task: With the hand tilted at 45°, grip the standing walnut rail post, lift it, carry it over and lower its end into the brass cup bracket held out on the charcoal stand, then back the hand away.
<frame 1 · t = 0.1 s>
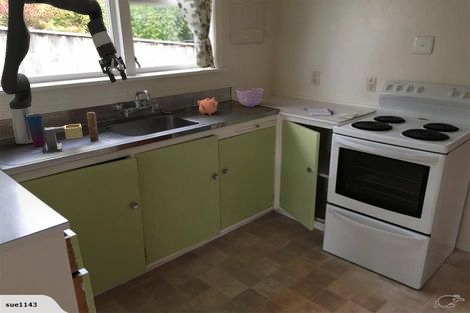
hand: (119, 81, 164), 31 cm above the counter, tool tilted 20°, fingers open, 8 cm apart
cup: (39, 146, 183), on the counter
cup bracket: (75, 146, 181), on the counter
orange lumpy ball: (208, 113, 249), on the counter
rail post: (94, 140, 191), on the counter
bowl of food: (249, 105, 273), on the counter
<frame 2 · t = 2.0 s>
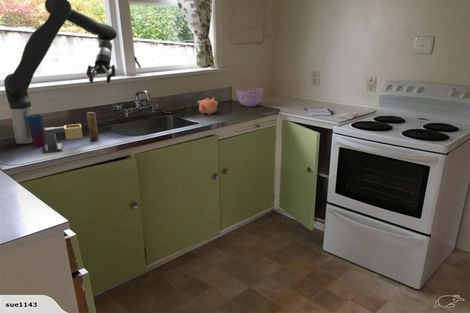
hand: (99, 82, 197), 27 cm above the counter, tool tilted 45°, fingers open, 8 cm apart
nothing on the counter moved.
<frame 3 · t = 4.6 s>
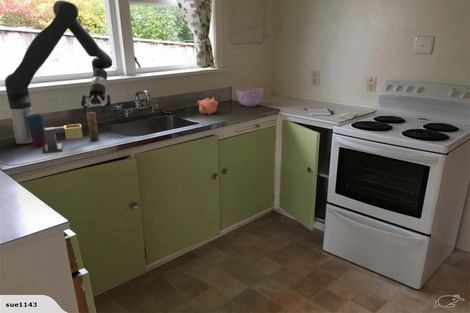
hand: (94, 113, 192), 13 cm above the counter, tool tilted 45°, fingers open, 8 cm apart
nothing on the counter moved.
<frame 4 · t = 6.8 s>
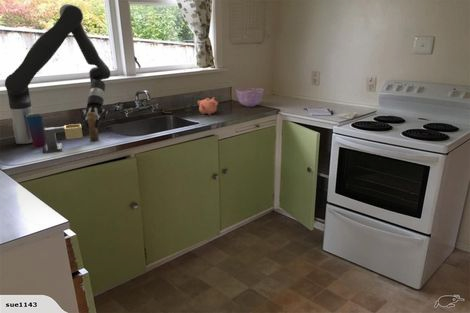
hand: (91, 127, 187), 7 cm above the counter, tool tilted 45°, fingers closed on rail post, 4 cm apart
rail post: (94, 140, 191), on the counter, touching gripper
everything else where it was.
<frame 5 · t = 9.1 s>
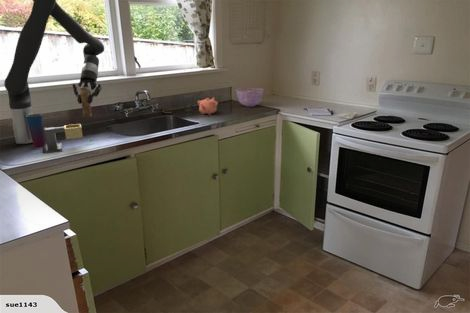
hand: (84, 102, 181), 20 cm above the counter, tool tilted 45°, fingers closed on rail post, 4 cm apart
rail post: (87, 116, 185), point 13 cm above the counter, touching gripper
everything else where it was.
when the fingers open (14 cm above the counter, at t = 11.6 s): rail post stays where it is, resting on cup bracket.
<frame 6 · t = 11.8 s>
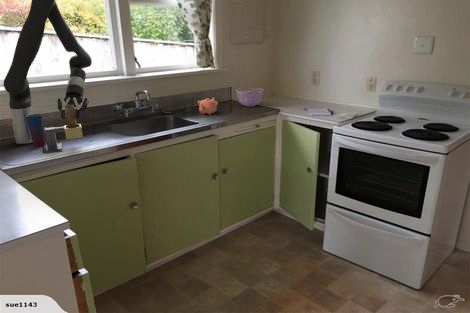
hand: (70, 118, 174), 14 cm above the counter, tool tilted 45°, fingers open, 5 cm apart
rail post: (74, 134, 179), point 6 cm above the counter, touching cup bracket
everything else where it was.
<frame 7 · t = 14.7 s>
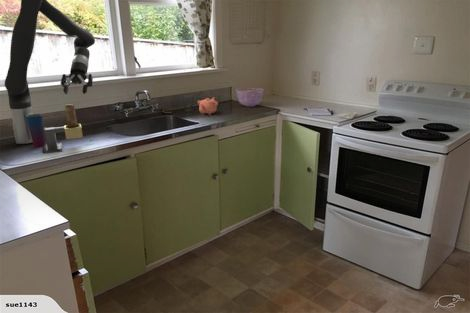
hand: (74, 93, 181), 24 cm above the counter, tool tilted 45°, fingers open, 8 cm apart
nothing on the counter moved.
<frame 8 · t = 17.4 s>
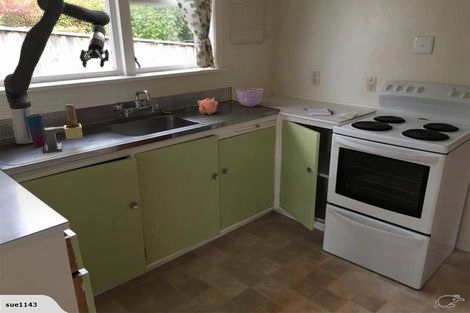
hand: (92, 66, 196), 35 cm above the counter, tool tilted 45°, fingers open, 8 cm apart
nothing on the counter moved.
at the end: rail post 0.1 cm off-centre on the cup bracket, point 6.0 cm above the cup bracket's base; rail post tilted 0°; the gripper is holding nothing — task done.
